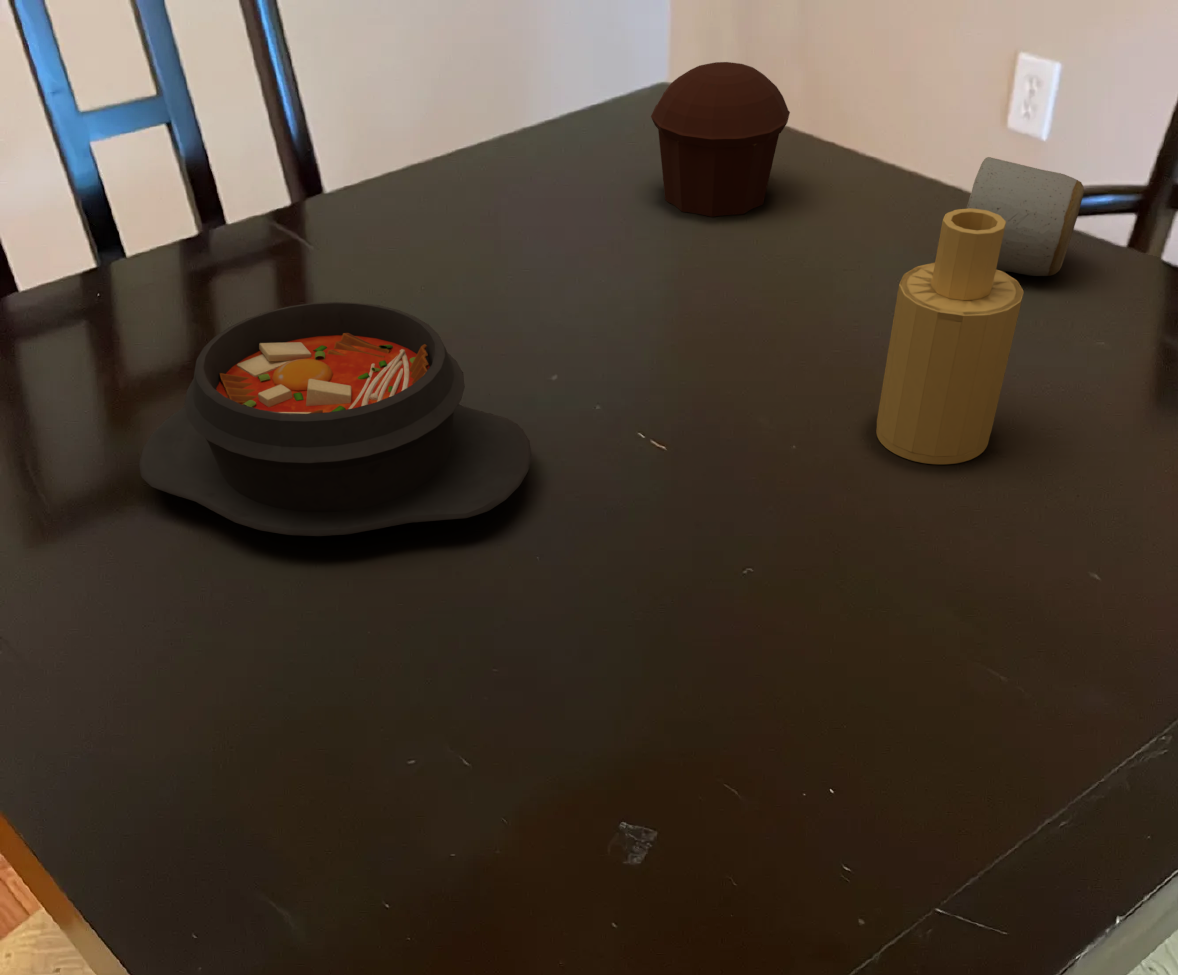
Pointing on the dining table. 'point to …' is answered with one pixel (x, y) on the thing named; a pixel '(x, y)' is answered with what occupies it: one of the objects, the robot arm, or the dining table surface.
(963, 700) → the dining table surface
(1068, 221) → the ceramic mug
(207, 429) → the casserole
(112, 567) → the dining table surface
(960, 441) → the bottle
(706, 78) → the muffin
